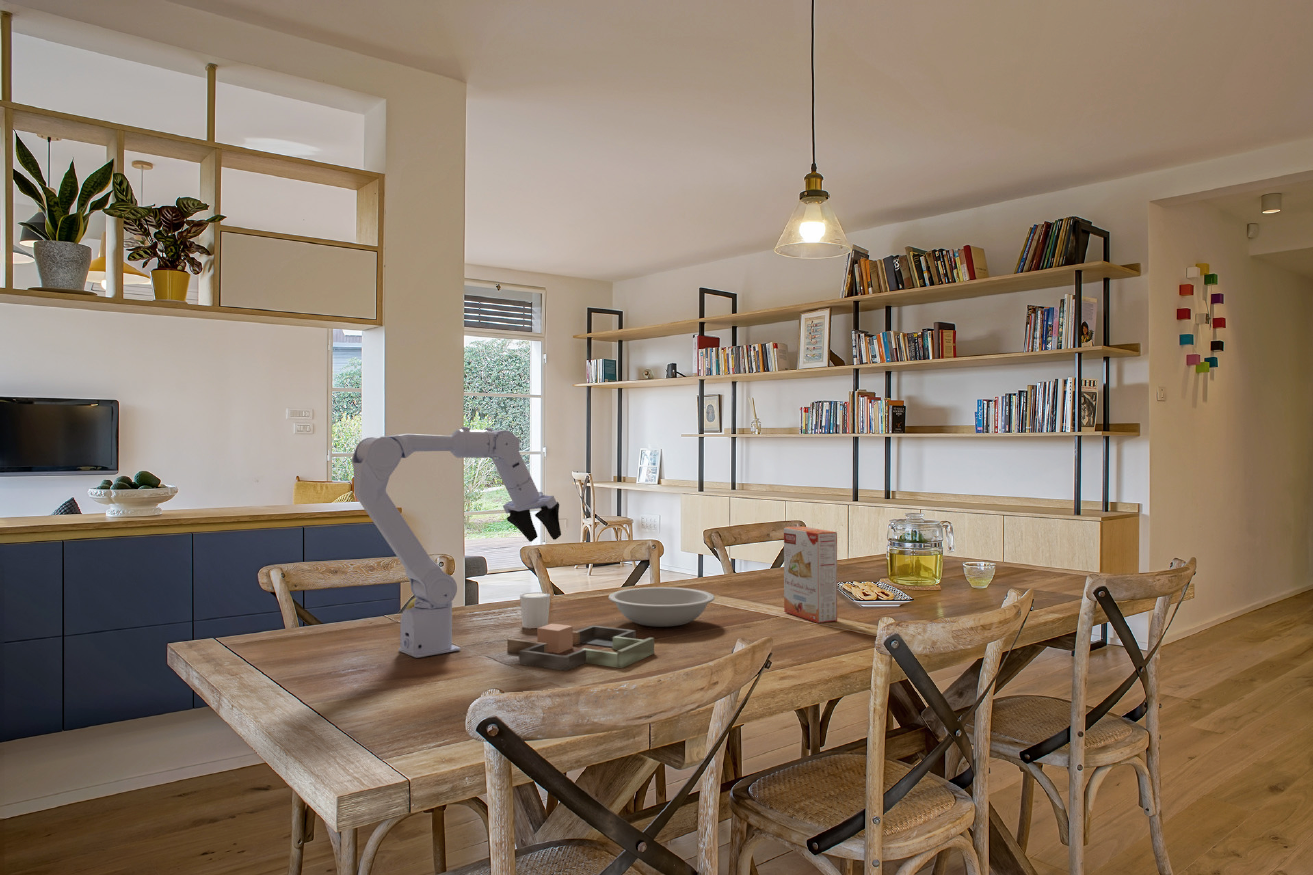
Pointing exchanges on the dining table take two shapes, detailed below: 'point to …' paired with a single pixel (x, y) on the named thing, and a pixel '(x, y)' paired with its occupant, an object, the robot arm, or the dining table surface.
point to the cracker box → (810, 573)
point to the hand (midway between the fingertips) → (545, 538)
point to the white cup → (535, 609)
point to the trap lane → (592, 635)
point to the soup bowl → (661, 605)
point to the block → (556, 637)
